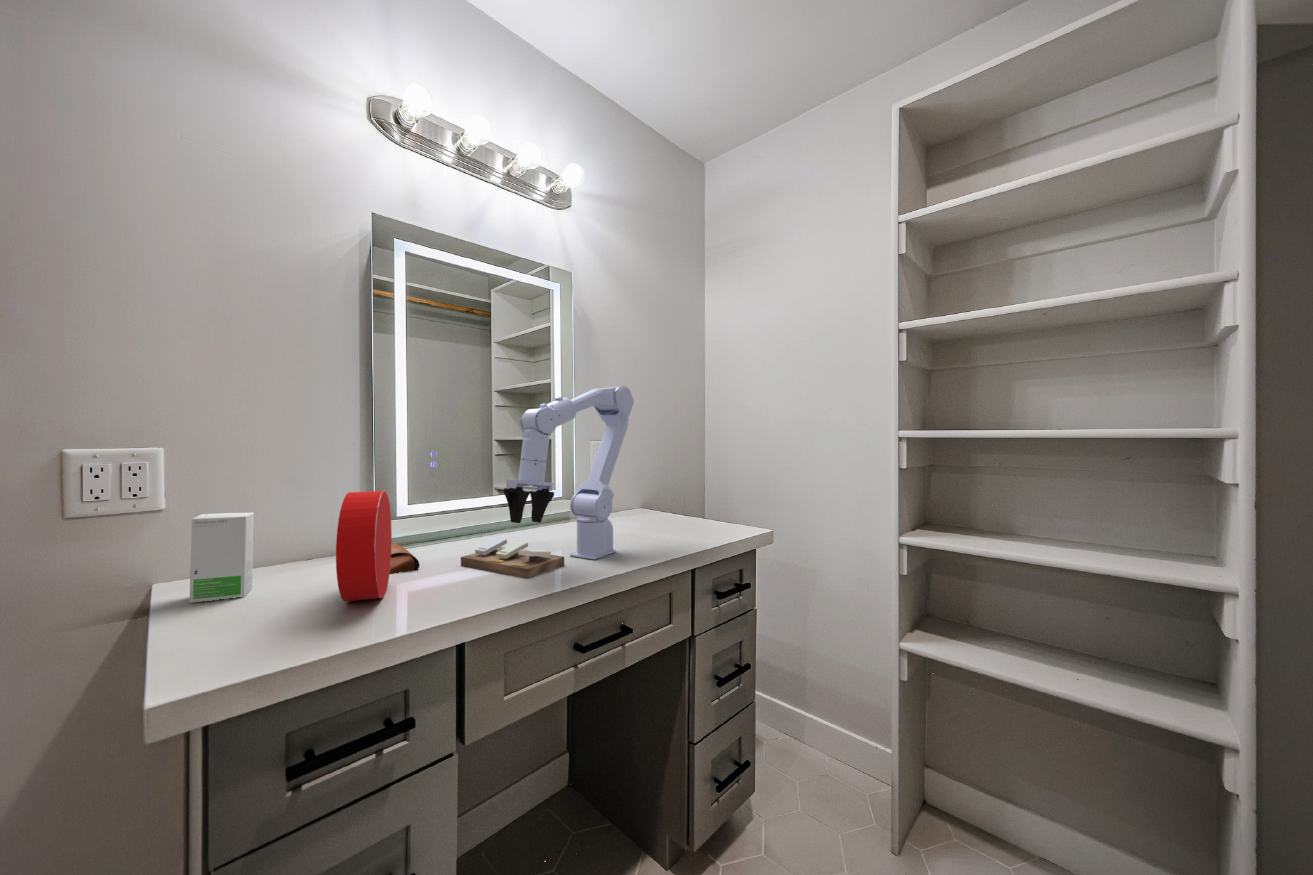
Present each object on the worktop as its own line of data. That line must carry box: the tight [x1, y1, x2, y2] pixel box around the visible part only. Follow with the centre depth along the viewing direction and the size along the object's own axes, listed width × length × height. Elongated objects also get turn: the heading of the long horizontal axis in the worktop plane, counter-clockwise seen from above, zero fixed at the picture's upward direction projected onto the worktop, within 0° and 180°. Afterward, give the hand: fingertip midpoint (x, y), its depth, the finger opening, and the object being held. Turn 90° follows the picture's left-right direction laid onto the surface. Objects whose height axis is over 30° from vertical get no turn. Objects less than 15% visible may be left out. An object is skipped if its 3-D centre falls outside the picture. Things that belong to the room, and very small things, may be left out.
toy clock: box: [335, 490, 392, 603], centre depth 95 cm, size 20×6×20 cm, turn 21°
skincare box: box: [189, 512, 255, 604], centre depth 96 cm, size 8×7×16 cm
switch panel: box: [460, 546, 565, 579], centre depth 118 cm, size 12×21×3 cm, turn 60°
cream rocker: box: [518, 549, 552, 556], centre depth 114 cm, size 7×3×1 cm, turn 150°
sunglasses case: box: [389, 542, 421, 575], centre depth 119 cm, size 18×7×7 cm
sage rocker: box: [496, 540, 529, 559], centre depth 118 cm, size 7×3×1 cm, turn 150°
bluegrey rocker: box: [474, 537, 508, 555], centre depth 121 cm, size 7×3×1 cm, turn 150°
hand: (526, 522), depth 111 cm, fingers open, 7 cm apart
